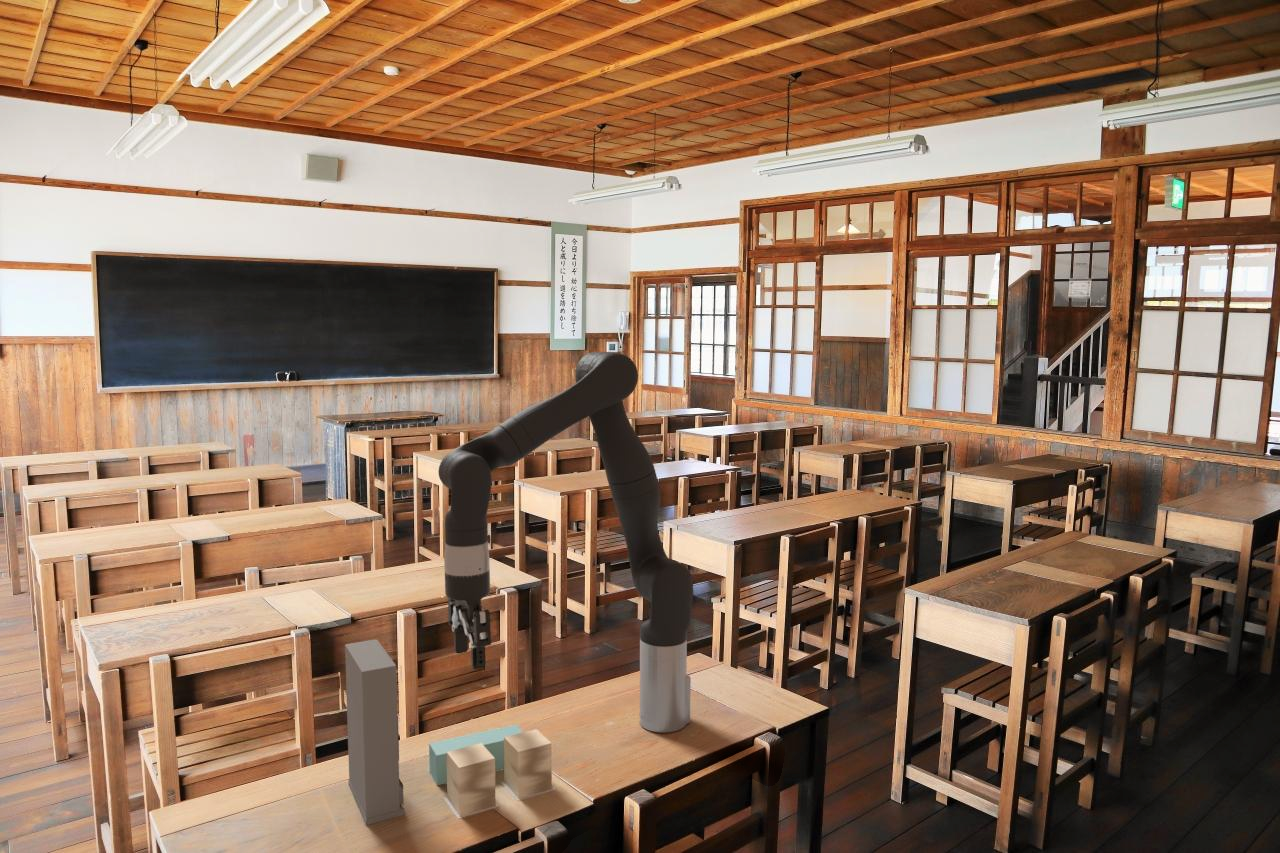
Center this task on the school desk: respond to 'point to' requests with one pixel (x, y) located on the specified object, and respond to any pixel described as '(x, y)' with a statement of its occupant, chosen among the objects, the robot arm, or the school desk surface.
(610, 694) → the school desk surface
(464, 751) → the pillar
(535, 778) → the pillar
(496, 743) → the lintel
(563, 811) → the school desk surface
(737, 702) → the school desk surface
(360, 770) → the tall grey upright post
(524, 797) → the thin flat base plate
